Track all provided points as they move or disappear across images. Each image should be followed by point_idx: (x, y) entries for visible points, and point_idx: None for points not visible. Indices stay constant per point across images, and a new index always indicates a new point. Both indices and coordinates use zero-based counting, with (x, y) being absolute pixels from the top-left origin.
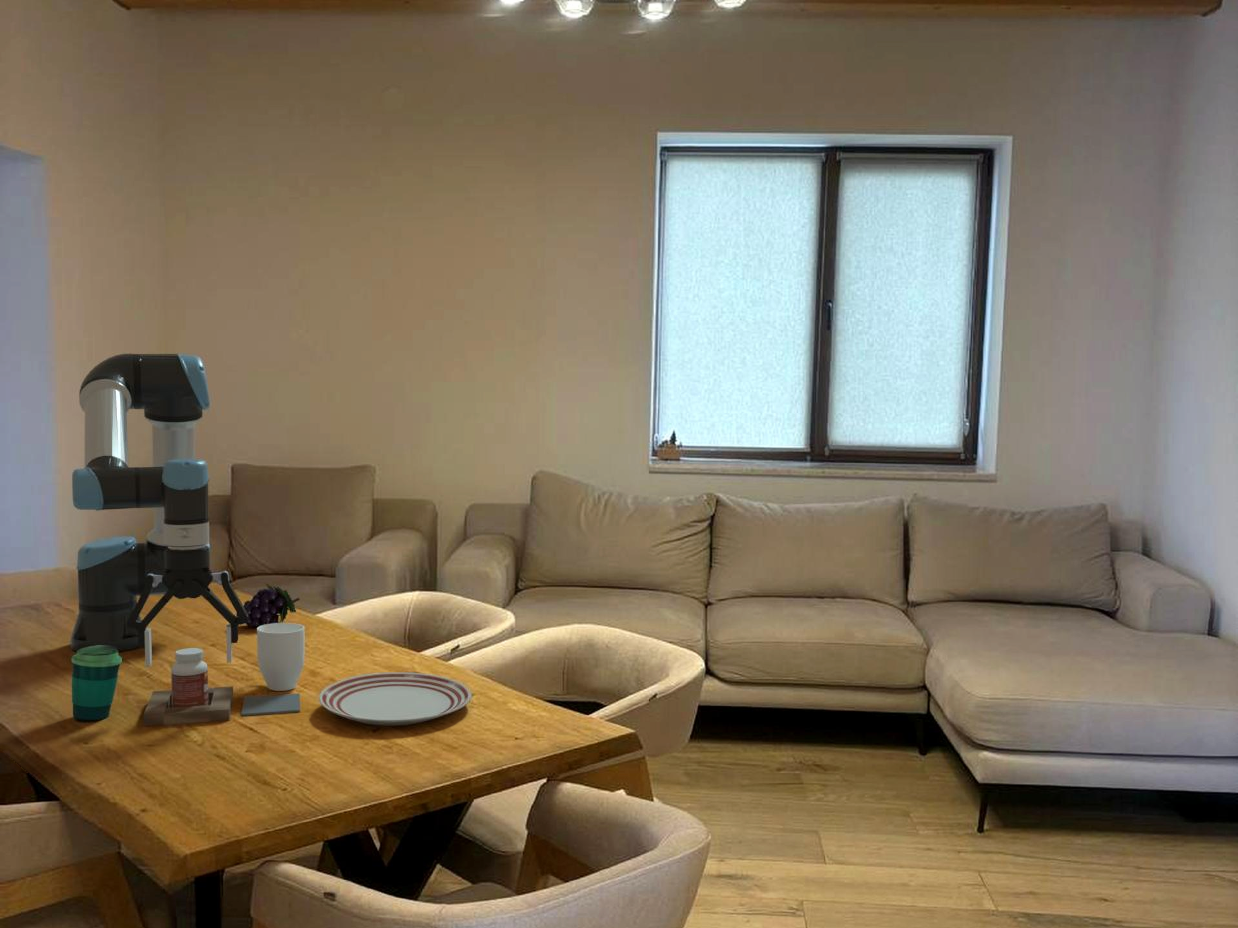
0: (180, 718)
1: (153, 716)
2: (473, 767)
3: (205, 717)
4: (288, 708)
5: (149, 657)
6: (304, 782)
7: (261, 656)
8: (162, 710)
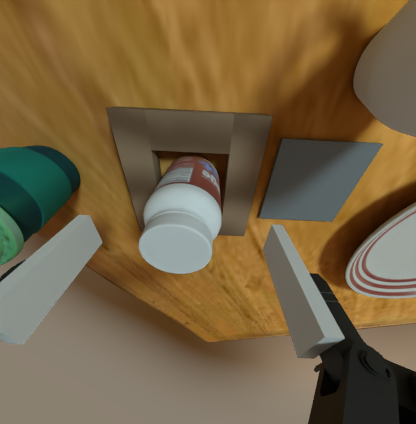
0: None
1: None
2: (365, 323)
3: None
4: (322, 213)
5: (88, 260)
6: (268, 319)
7: (404, 103)
8: None
